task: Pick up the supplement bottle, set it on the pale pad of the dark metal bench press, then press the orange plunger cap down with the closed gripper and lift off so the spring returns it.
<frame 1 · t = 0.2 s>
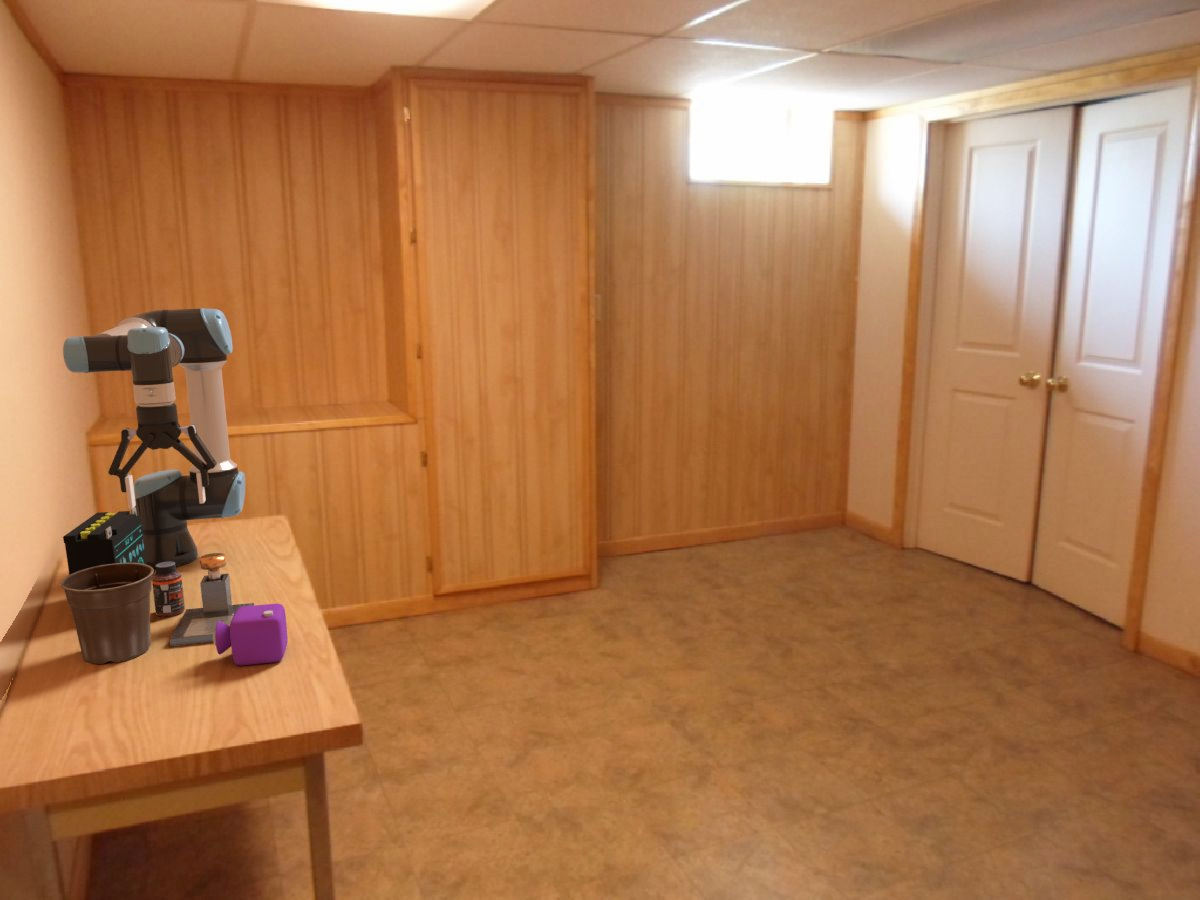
hand: (167, 504, 191), 27 cm above the table, fingers open, 13 cm apart
toy camera: (253, 658, 180), on the table
plant pot: (118, 652, 184), on the table
battery: (114, 603, 210), on the table
plunger: (214, 572, 199), point 10 cm above the table, slide at 0.1 cm
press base: (214, 626, 195), on the table
supplement bottle: (170, 613, 204), on the table
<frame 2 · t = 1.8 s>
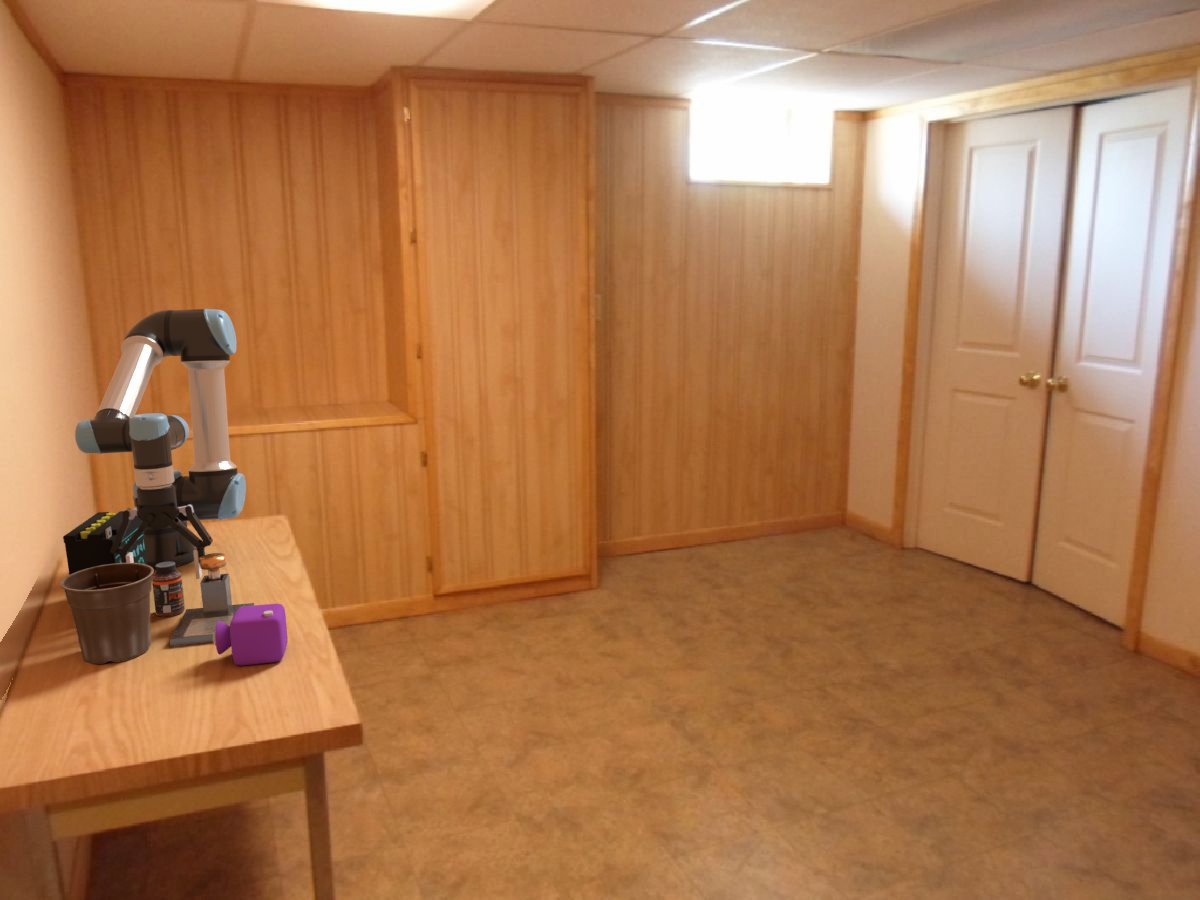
hand: (166, 580, 202), 8 cm above the table, fingers open, 13 cm apart
nothing on the table moved.
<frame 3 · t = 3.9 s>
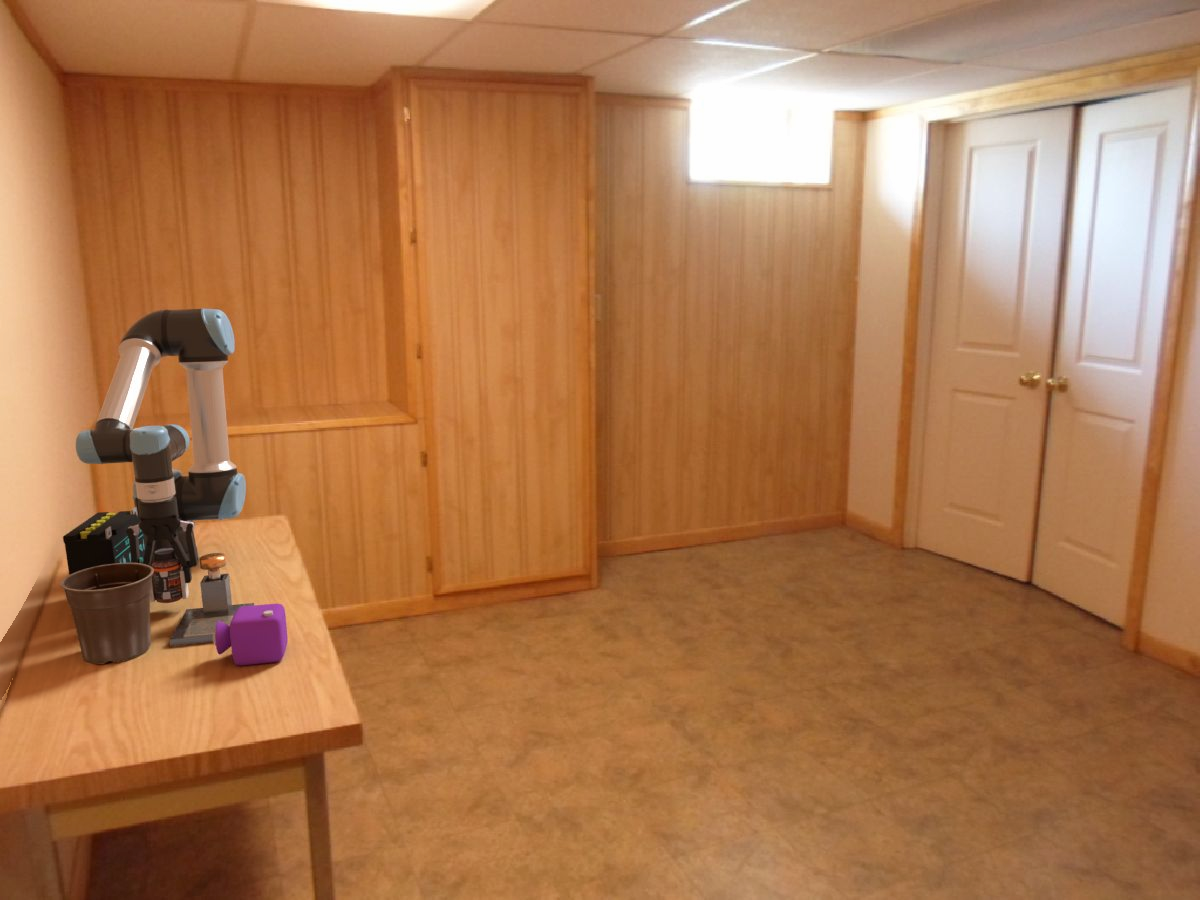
hand: (169, 597, 204), 3 cm above the table, fingers closed on supplement bottle, 6 cm apart
supplement bottle: (170, 599, 204), point 3 cm above the table, touching gripper
everything else where it was.
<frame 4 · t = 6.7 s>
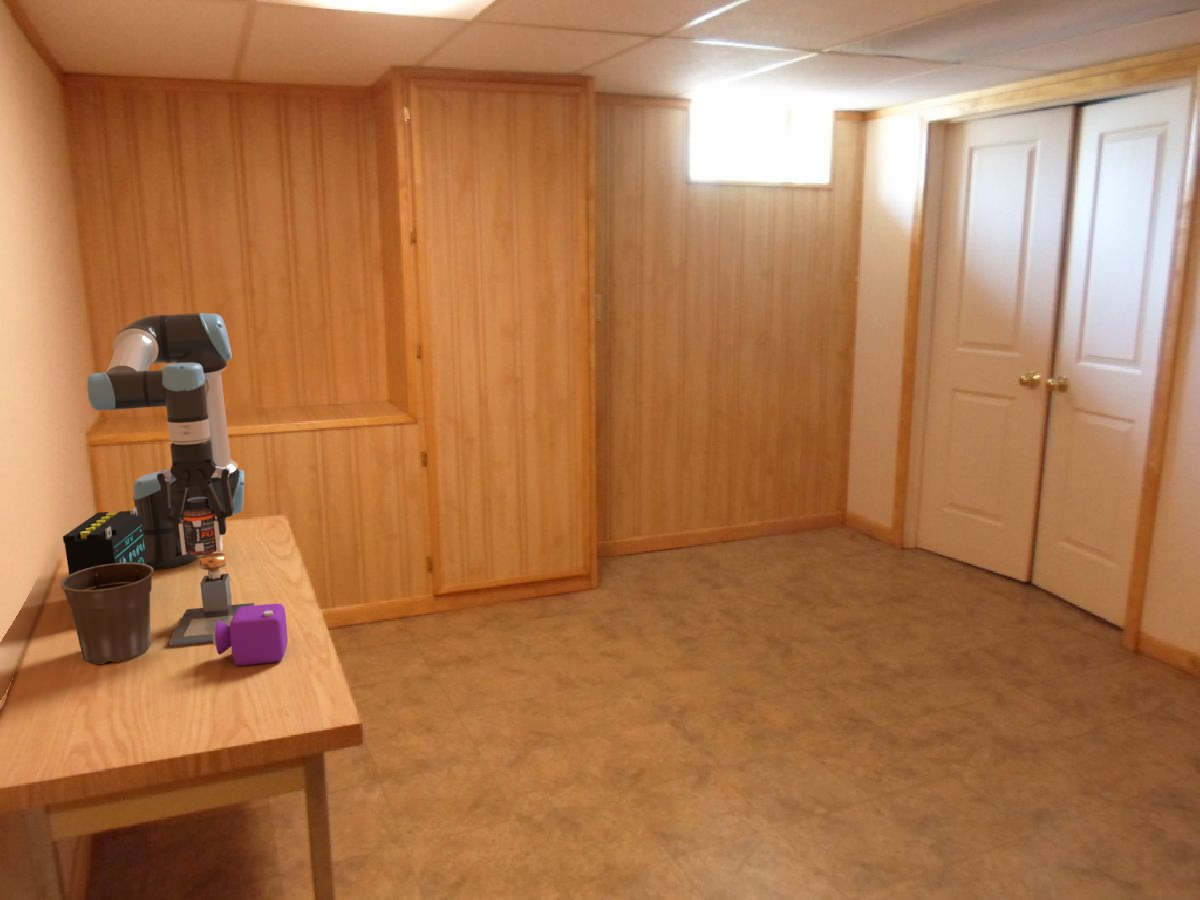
hand: (202, 551, 188), 18 cm above the table, fingers closed on supplement bottle, 6 cm apart
supplement bottle: (203, 553, 189), point 17 cm above the table, touching gripper
everything else where it was.
when the fingers open (3 cm above the table, at t = 9.6 s): supplement bottle drops 1 cm, resting on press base.
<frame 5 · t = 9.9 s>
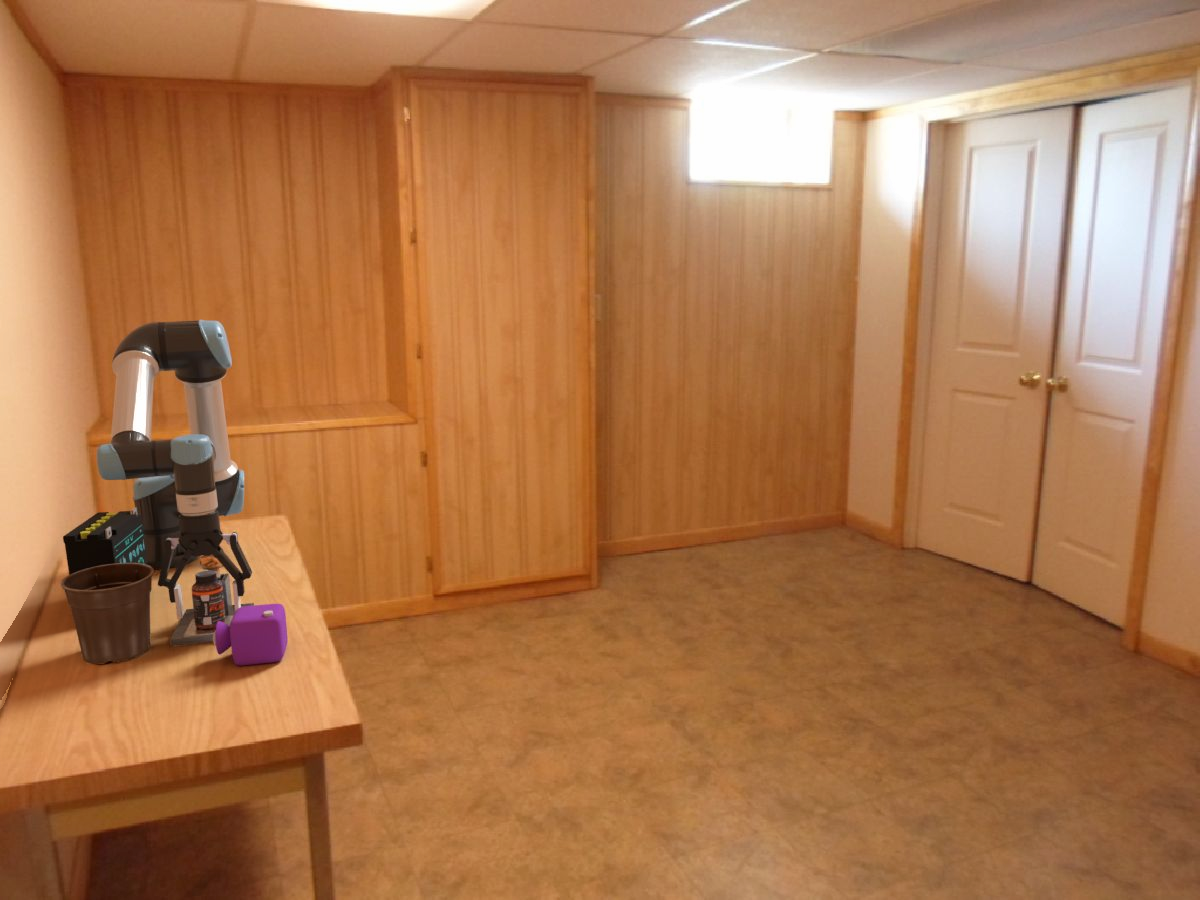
hand: (209, 613, 191), 4 cm above the table, fingers open, 10 cm apart
supplement bottle: (210, 625, 192), point 2 cm above the table, touching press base
everything else where it was.
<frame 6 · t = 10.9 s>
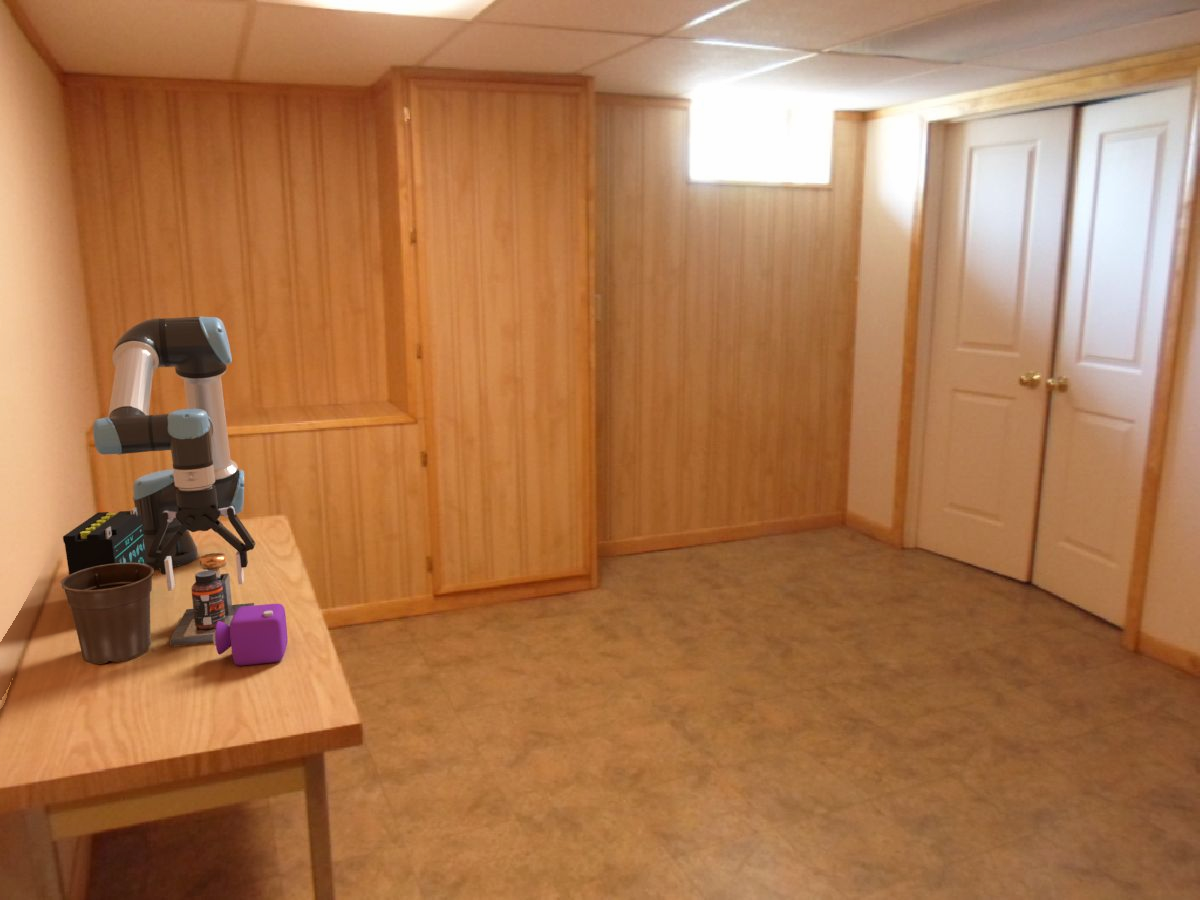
hand: (206, 585, 190), 10 cm above the table, fingers open, 13 cm apart
nothing on the table moved.
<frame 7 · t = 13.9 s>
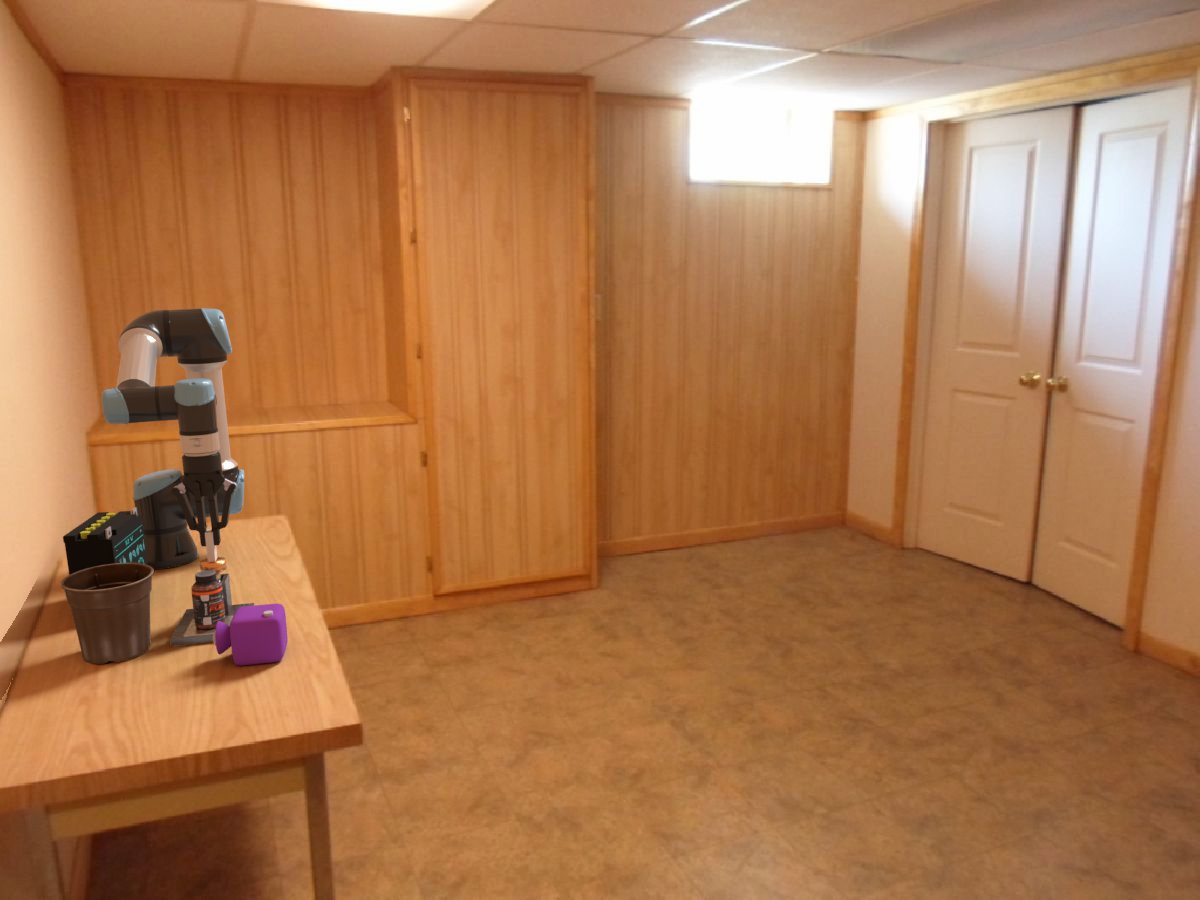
hand: (212, 559, 198), 13 cm above the table, fingers closed
plunger: (214, 576, 199), point 9 cm above the table, slide at 1.0 cm, touching gripper
everything else where it was.
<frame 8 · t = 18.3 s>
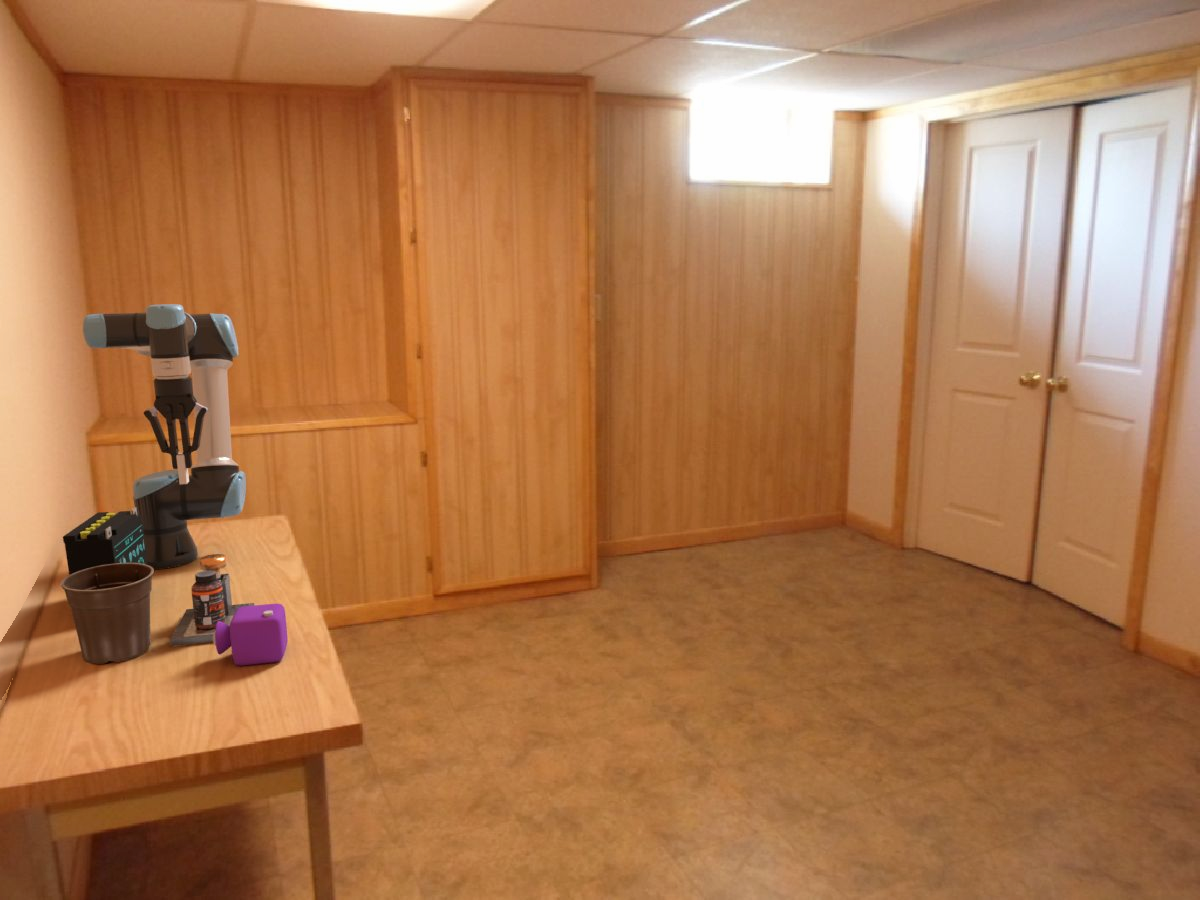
hand: (184, 482, 203), 28 cm above the table, fingers closed
plunger: (214, 573, 199), point 10 cm above the table, slide at 0.4 cm
everything else where it was.
at the end: supplement bottle 0.3 cm from the target spot on the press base, point 1.6 cm above the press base's base; supplement bottle tilted 0°; plunger slide at 0.4 cm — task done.
